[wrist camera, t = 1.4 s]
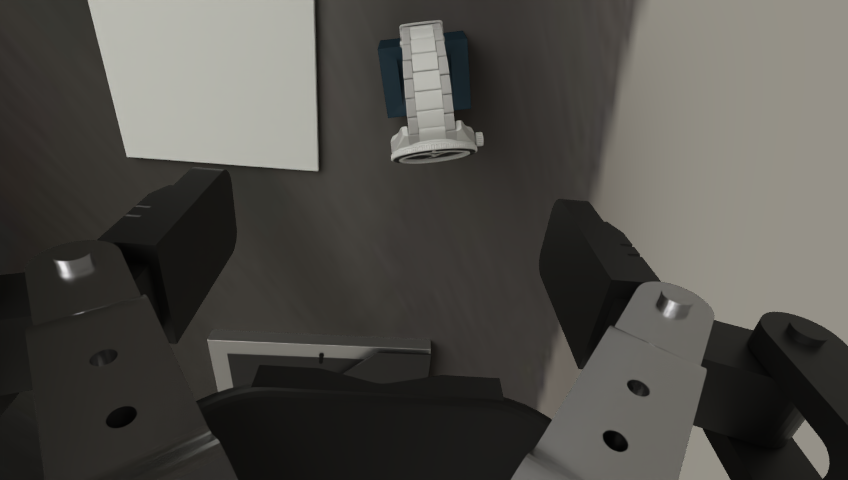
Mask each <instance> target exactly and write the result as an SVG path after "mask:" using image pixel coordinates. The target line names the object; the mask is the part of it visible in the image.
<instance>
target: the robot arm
mask: <svg viewBox="0 0 848 480" xmlns="http://www.w3.org/2000/svg"><path fill="white" fill-rule="evenodd" d="M236 237H237V228H236V218H235V209H234V200H233V191H232V183H231V177H230V174H229V172H228V171H227V170H220V169H209V168H197V167H193V168H191V169H190V170H189V171H188V172H187V173H186V174H185V175H184V176H183V177H182V178H181V179H180V180H178V181H177V182H176V183H175V184H174V185H168V186H166V187H163V188H161V189H159V190H157V191H154V192H152V193H150V194H148V195H147V196H146V197H145V198H144V199H143V200H142V201H140V202H139V203H138V204H137V207H134V208H132V209H131V210H130V211H129V212H128V213H127V216H123V217H122V218H121V219H120V220H119V221H118V222H117V223H116V224H114V225H113V226H112V227H111V228H110V229H109V230H108V231H107V232H105V233H104V234H103V235H102V236H101V237H100V238H99V239H98V240H83V241H75V242H69V243H65V244H61V245H58V246H55V247H52V248H50V249H47V250H45V251H43V252H41V253H39V254H38V255H36V256H34V257H33V258H32V259H31V260H30V261H29V262H28V263H27V265H26V267H25V272H24V273H15V274H5V275H0V416H1V415H2V414H3V412H4V411H5V410H6V409H7V408H8V406H9V405H10V404H11V403H12V402H13V400H14V399H15V398H16V397H17V395H18V394H19V392H24V391H29V390H33V394H34V401H35V409H36V416H37V423H38V431H39V438H40V446H41V453H42V460H43V468H44V475H45V480H678V478H679V474H680V471H681V467H682V463H683V459H684V455H685V452H686V448H687V444H688V441H689V437H690V433H691V429H692V426H693V425H694V426H698V427H701V428H703V430H704V432H705V434H706V436H707V438H708V440H709V442H710V443H711V445H712V447H713V449H714V451H715V452H716V454H717V456H718V458H719V460H720V461H721V463H722V465H723V467H724V469H725V470H726V472H727V474H728V476H729V478H730V479H731V480H848V346H847V345H846V344H845V343H844V342H843V341H842V340H841V339H839V338H838V337H837V336H836V335H835V334H833V333H832V332H830V331H829V330H827V329H826V328H824V327H822V326H820V325H818V324H817V323H814V322H812V321H810V320H808V319H805V318H802V317H799V316H796V315H792V314H789V313H783V312H769V313H766V314H764V315H763V316H762V317H761V319H760V321H759V322H758V324H757V325H756V327H755V329H754V330H749V329H745V328H742V327H738V326H734V325H730V324H726V323H722V322H719V321H716V320H714V312H713V310H712V309H711V307H710V306H709V305H708V304H707V303H706V302H705V301H704V300H703V299H702V298H700V297H699V296H697V295H696V294H694V293H693V292H691V291H688V290H687V289H684V288H682V287H679V286H677V285H673V284H670V283H665V282H661V281H660V280H659V278H658V277H657V276H656V275H655V273H654V272H653V271H652V269H651V268H650V267H649V266H648V264H647V263H646V262H645V260H644V259H643V258H642V257H640V254H639V253H638V251H637V250H636V249H635V248H634V247H632V244H631V242H630V241H629V240H628V239H627V237H626V236H625V235H624V233H622V232H621V231H620V230H618V229H617V228H615V227H614V226H612V225H611V224H609V223H608V222H604V221H603V220H602V219H601V218H600V216H599V215H598V213H597V212H596V211H595V209H594V208H593V207H592V205H591V204H590V203H589V202H588V201H576V200H565V199H558V200H557V201H556V202H555V203H554V206H553V208H552V212H551V215H550V219H549V223H548V227H547V230H546V234H545V238H544V242H543V245H542V249H541V253H540V260H539V270H540V275H541V278H542V281H543V283H544V286H545V288H546V290H547V293H548V295H549V298H550V300H551V303H552V305H553V308H554V310H555V312H556V315H557V317H558V320H559V322H560V325H561V327H562V330H563V332H564V334H565V337H566V339H567V342H568V344H569V347H570V349H571V352H572V354H573V356H574V359H575V361H576V364H577V366H578V368H579V369H583V370H582V372H581V373H580V375H579V377H578V378H577V380H576V382H575V384H574V385H573V387H572V388H571V390H570V391H569V393H568V395H567V396H566V398H565V400H564V401H563V403H562V405H561V406H560V408H559V410H558V411H557V413H556V414H555V416H554V418H553V419H552V420H551V419H550V418H549V417H547V416H545V415H544V414H542V413H540V412H539V411H537V410H535V409H533V408H531V407H529V406H527V405H525V404H522V403H519V402H517V401H514V400H511V399H508V398H505V397H503V393H502V389H501V384H500V379H499V378H483V377H465V376H448V375H440V376H433V377H426V378H420V379H413V380H406V381H399V382H393V383H385V384H380V383H374V382H370V381H366V380H363V379H359V378H355V377H351V376H347V375H344V374H340V373H336V372H332V371H329V370H325V369H321V368H308V367H290V366H273V365H259V367H258V370H257V373H256V375H255V378H254V381H253V383H252V384H246V385H241V386H237V387H233V388H229V389H226V390H223V391H220V392H217V393H214V394H211V395H209V396H207V397H205V398H202V399H200V400H198V401H196V400H195V398H194V396H193V393H192V391H191V389H190V387H189V385H188V383H187V380H186V378H185V376H184V374H183V372H182V370H181V367H180V365H179V363H178V361H177V359H176V357H175V355H174V352H173V350H172V348H171V346H170V344H169V343H172V344H177V343H178V341H179V339H180V338H181V336H182V335H183V333H184V331H185V330H186V328H187V326H188V325H189V323H190V322H191V320H192V318H193V317H194V315H195V313H196V312H197V310H198V309H199V307H200V305H201V304H202V302H203V300H204V299H205V297H206V295H207V294H208V292H209V291H210V289H211V287H212V286H213V284H214V282H215V281H216V279H217V278H218V276H219V274H220V273H221V271H222V269H223V268H224V266H225V265H226V263H227V261H228V260H229V258H230V256H231V255H232V253H233V251H234V248H235V244H236ZM805 419H806V421H807V422H808V423H809V424H810V426H811V427H812V428H813V429H814V431H815V432H816V433H817V434H818V436H819V437H820V438H821V440H822V441H823V442H824V444H825V446H826V448H827V451H828V454H829V461H830V465H829V470H828V473H827V474H826V476H825V477H824V478H823V479H822V478H821V476H820V475H819V474H818V472H817V471H816V469H815V468H814V467H813V465H812V464H811V463H810V461H809V460H808V459H807V457H806V456H805V455H804V453H803V452H802V450H801V449H800V448H799V446H798V445H797V444H796V442H795V441H794V439H793V438H792V436H793V435H794V433H795V432H796V431H797V430H798V428H799V427H800V426H801V424H802V423H803V422H804V420H805Z"/></svg>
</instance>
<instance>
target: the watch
mask: <svg viewBox="0 0 848 480" xmlns="http://www.w3.org/2000/svg"><path fill="white" fill-rule="evenodd" d="M399 29H400V37H401V38H398V39H390V40H381V41H380V44H379V47H378V54H379V61H380V67H381V74H382V81H383V87H384V94H385V101H386V107H387V114H388V118H392V117H401V116H407V117H408V129H407V126H406V127H401V128H400V131H399V133H397V134H396V135H394V136H393V137H392V140H391V148H392V155H391V160H392V161H394V162H397V163H430V162H439V161H446V160H452V159H457V158H461V157H465V156H469V155H471V154H474V153H475V152H477V146H483V134H482V132H476V133H475V135H474V131H473V129H472V128H471V127H469V126H465V125H464V123H463V121H461V120H459V121H456V124H455V121H454V113H453V112H454V110H462V109H471V98H470V80H469V61H468V43H467V37H466V36H465V34H464V33H463V31H457V32H448V33H443V24H442V21H441V20H435V21H425V22H417V23H410V24H403V25H401V26H400V27H399ZM475 144H476V145H475Z"/></svg>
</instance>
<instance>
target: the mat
mask: <svg viewBox="0 0 848 480" xmlns="http://www.w3.org/2000/svg"><path fill="white" fill-rule="evenodd" d="M88 3H89V7H90V11H91V15H92V19H93V23H94V27H95V31H96V35H97V39H98V43H99V47H100V51H101V55H102V59H103V63H104V67H105V71H106V75H107V79H108V83H109V87H110V91H111V95H112V99H113V103H114V107H115V111H116V115H117V119H118V123H119V127H120V131H121V135H122V139H123V143H124V147H125V151H126V155H127V157H137V158H150V159H163V160H176V161H189V162H203V163H216V164H229V165H242V166H255V167H269V168H282V169H295V170H308V171H318V170H319V145H318V104H317V63H316V22H315V0H88Z"/></svg>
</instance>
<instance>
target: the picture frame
mask: <svg viewBox="0 0 848 480" xmlns="http://www.w3.org/2000/svg"><path fill="white" fill-rule="evenodd" d="M207 341H208V346H209V351H210V355H211V360H212V365H213V369H214V374H215V379H216V384H217V388H218V392H220V391H223V390H226V389H229V388H233V387H237V386H241V385H246V384H252V383H253V381H254V378H255V375H256V373H257V370H258V367H259V365H273V366H290V367H308V368H321V369H325V370H329V371H332V372H336V373H340V374H344V375H347V376H351V377H355V378H359V379H363V380H366V381H370V382H374V383H380V384H385V383H393V382H399V381H406V380H413V379H420V378H426V377H428V375H429V368H430V361H431V354H430V353H431V341H430V340H429V339H407V338H385V337H364V336H342V335H320V334H298V333H277V332H255V331H233V330H212V332H211V333H210V335H209V337H208V339H207Z"/></svg>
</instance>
